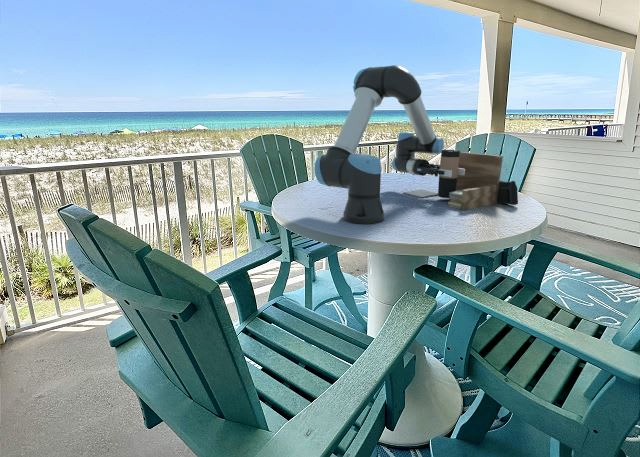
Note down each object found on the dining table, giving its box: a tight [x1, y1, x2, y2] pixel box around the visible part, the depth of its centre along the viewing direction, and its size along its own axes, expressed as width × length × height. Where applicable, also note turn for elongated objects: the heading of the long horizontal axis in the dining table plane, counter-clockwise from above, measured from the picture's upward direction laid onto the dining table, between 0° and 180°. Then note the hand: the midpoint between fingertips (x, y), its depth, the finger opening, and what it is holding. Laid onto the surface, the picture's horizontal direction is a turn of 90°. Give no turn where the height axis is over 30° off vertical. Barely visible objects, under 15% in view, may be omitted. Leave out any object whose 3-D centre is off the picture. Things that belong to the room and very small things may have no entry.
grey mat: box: [402, 189, 438, 199], centre depth 176 cm, size 12×12×1 cm
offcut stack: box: [447, 188, 472, 210], centre depth 156 cm, size 16×8×6 cm, turn 129°
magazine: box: [497, 180, 519, 206], centre depth 162 cm, size 17×3×30 cm
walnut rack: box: [456, 151, 504, 211], centre depth 158 cm, size 21×22×20 cm
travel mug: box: [437, 149, 461, 199], centre depth 160 cm, size 8×8×20 cm
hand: (457, 172), depth 156 cm, fingers closed on travel mug, 7 cm apart
